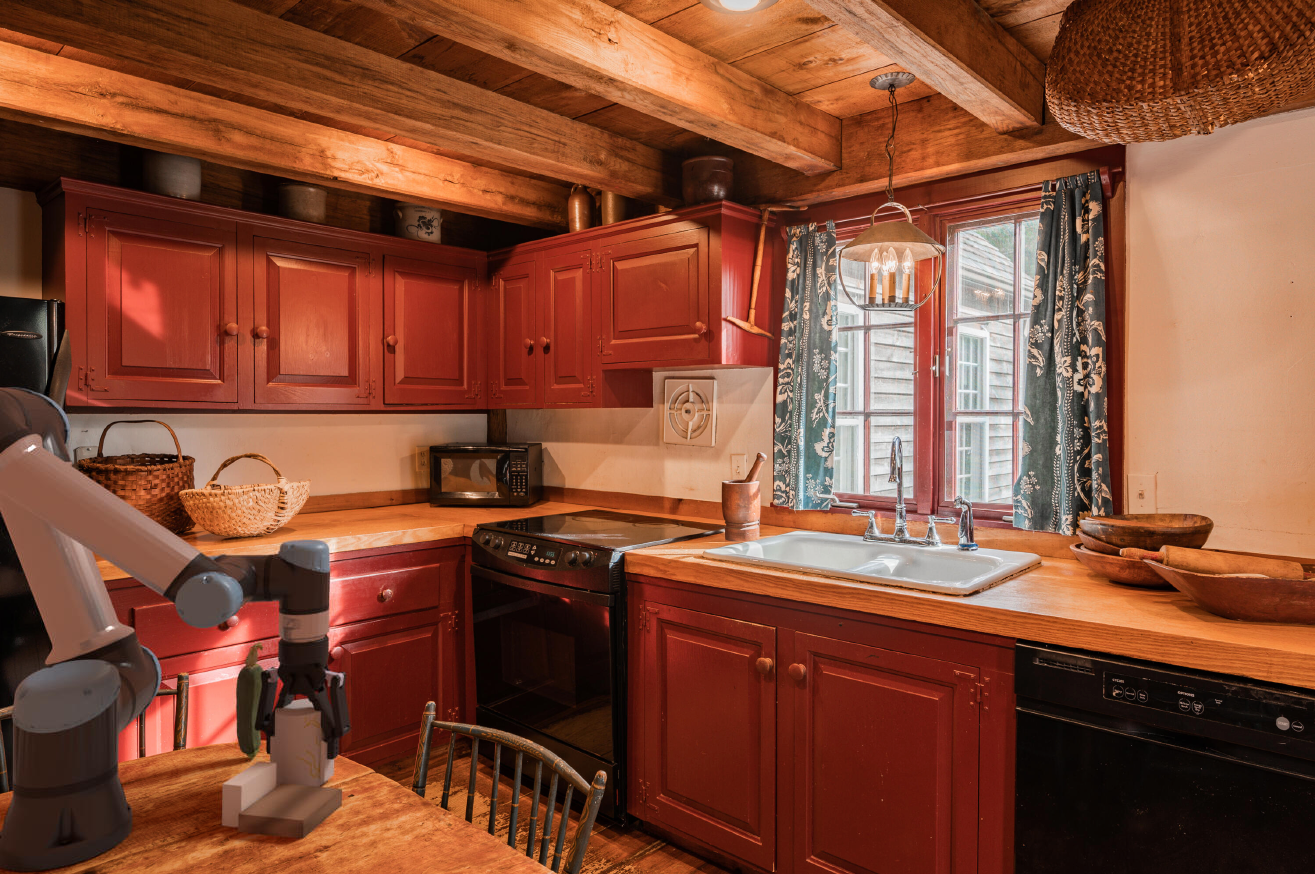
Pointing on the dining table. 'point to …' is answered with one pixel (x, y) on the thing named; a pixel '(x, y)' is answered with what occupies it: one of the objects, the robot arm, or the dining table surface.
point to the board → (290, 810)
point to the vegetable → (249, 703)
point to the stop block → (246, 790)
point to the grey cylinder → (298, 744)
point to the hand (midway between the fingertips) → (302, 775)
